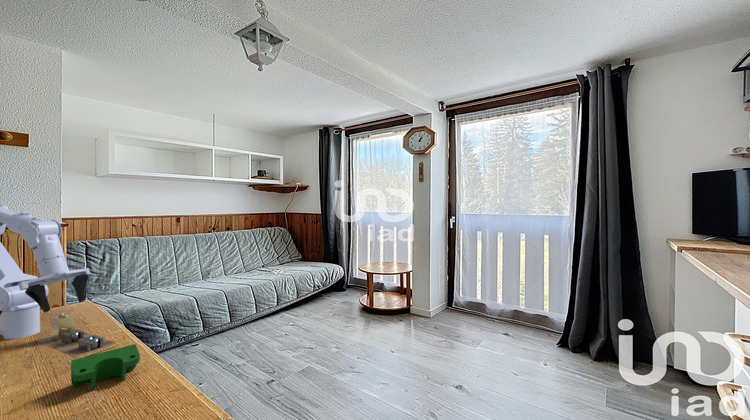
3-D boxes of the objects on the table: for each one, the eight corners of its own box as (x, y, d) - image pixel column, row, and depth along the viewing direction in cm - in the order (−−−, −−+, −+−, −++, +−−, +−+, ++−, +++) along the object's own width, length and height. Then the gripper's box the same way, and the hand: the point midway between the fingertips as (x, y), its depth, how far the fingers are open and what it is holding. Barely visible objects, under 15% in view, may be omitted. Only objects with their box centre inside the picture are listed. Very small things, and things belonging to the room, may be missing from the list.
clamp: (86, 411, 67) (62, 383, 63) (82, 393, 71) (60, 366, 67) (150, 371, 75) (132, 344, 70) (143, 357, 78) (127, 330, 74)
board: (35, 344, 89) (35, 340, 89) (76, 332, 97) (76, 329, 97) (74, 360, 80) (74, 356, 80) (116, 346, 88) (116, 342, 88)
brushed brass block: (51, 338, 91) (51, 315, 91) (67, 334, 94) (67, 311, 94) (58, 341, 89) (58, 317, 89) (74, 336, 92) (74, 313, 92)
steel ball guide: (61, 341, 89) (61, 333, 89) (77, 337, 92) (77, 329, 92) (87, 351, 83) (87, 342, 83) (103, 346, 86) (103, 337, 86)
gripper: (20, 262, 83) (35, 312, 82) (88, 251, 96) (102, 294, 95) (10, 270, 86) (25, 318, 85) (78, 258, 99) (91, 299, 98)
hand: (65, 306), depth 90 cm, fingers open, 7 cm apart
